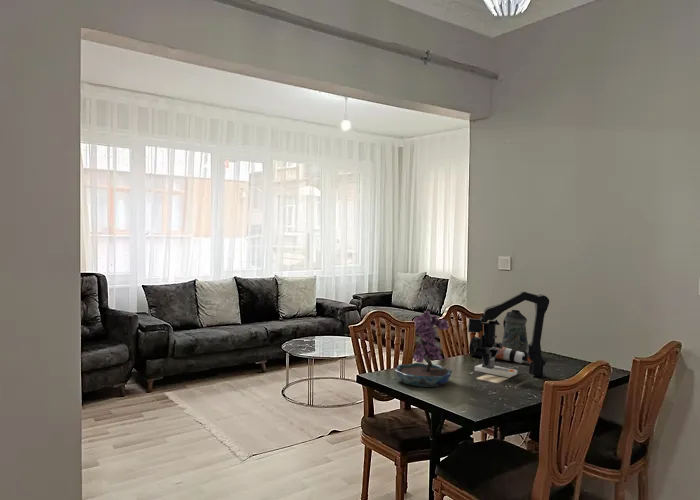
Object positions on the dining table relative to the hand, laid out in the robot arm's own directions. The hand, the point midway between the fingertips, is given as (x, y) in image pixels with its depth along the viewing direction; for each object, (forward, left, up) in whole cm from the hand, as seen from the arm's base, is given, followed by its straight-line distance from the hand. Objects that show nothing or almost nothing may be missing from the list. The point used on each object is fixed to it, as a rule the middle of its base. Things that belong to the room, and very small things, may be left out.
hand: (488, 364), depth 263 cm
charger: (0, 0, -3) cm, 3 cm away
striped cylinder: (+8, -32, -4) cm, 33 cm away
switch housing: (-4, 0, -4) cm, 6 cm away
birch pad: (-8, +12, -4) cm, 15 cm away
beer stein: (+11, -53, -4) cm, 54 cm away
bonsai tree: (+14, +34, -4) cm, 37 cm away
